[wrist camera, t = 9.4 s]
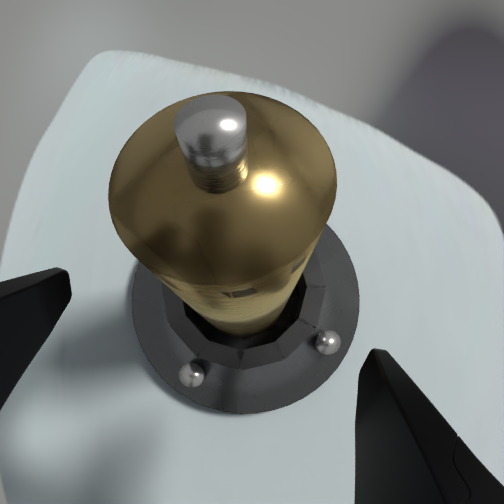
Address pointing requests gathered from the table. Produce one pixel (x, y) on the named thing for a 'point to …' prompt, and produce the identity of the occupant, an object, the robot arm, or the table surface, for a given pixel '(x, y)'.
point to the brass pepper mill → (225, 203)
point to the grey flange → (253, 338)
